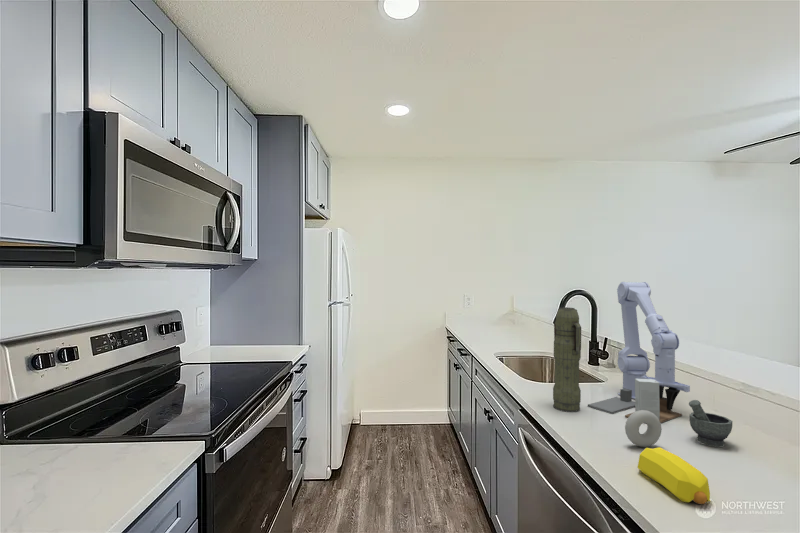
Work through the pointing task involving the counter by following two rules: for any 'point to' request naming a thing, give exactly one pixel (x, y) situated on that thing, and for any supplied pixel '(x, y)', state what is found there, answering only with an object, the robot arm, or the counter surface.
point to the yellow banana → (675, 475)
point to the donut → (651, 433)
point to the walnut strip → (664, 411)
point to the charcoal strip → (615, 402)
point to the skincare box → (647, 396)
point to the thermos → (567, 360)
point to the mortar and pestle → (709, 426)
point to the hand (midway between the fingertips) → (664, 408)
